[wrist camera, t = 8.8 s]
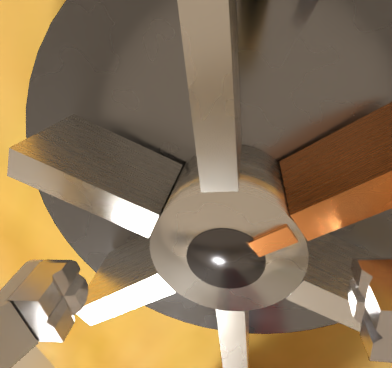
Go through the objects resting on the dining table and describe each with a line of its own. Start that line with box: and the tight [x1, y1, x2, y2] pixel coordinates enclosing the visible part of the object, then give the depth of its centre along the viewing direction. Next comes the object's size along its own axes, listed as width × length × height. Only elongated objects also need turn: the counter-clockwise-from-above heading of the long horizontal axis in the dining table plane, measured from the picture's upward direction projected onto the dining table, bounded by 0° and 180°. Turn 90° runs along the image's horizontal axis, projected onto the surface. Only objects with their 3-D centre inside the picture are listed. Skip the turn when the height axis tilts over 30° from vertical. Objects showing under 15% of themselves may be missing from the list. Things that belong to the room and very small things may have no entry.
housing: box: [26, 0, 392, 334], centre depth 12 cm, size 18×18×4 cm
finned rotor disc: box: [7, 0, 392, 368], centre depth 10 cm, size 14×13×4 cm
